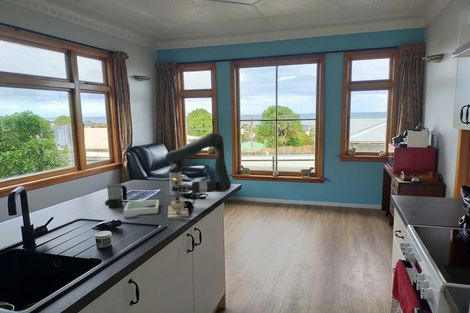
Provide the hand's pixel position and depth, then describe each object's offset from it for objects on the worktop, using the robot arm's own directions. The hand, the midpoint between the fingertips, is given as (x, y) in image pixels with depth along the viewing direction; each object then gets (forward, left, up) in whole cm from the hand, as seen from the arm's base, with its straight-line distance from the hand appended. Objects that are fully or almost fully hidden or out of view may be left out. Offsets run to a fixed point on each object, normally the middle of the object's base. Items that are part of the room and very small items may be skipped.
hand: (172, 188), depth 197 cm
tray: (+5, -18, -13) cm, 23 cm away
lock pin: (-1, +3, -9) cm, 9 cm away
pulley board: (+7, +5, -13) cm, 15 cm away
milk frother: (-8, -44, -13) cm, 46 cm away
